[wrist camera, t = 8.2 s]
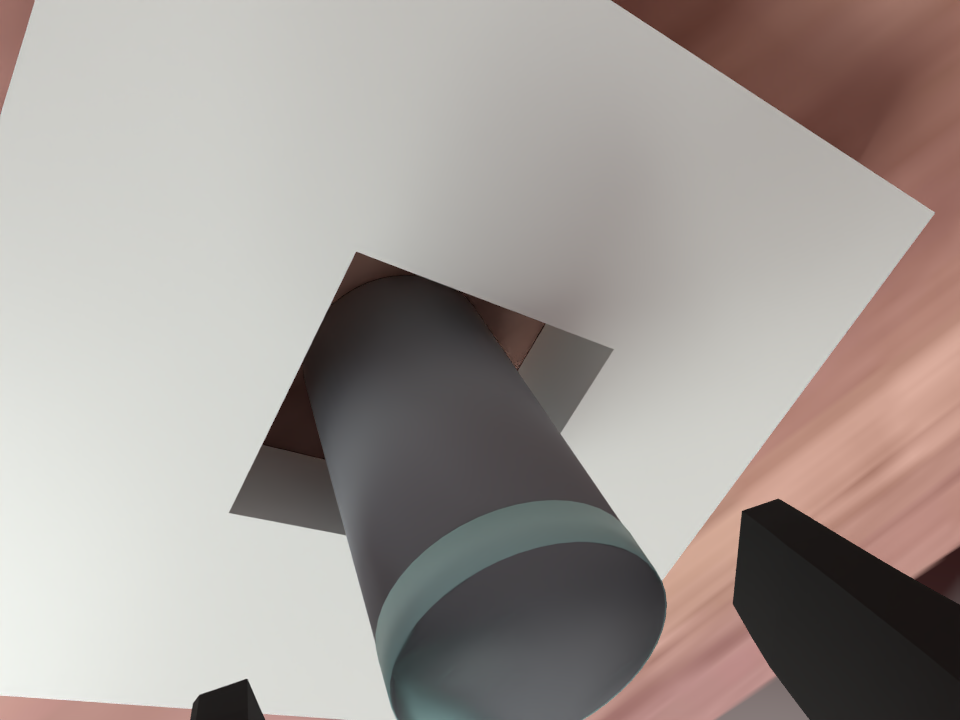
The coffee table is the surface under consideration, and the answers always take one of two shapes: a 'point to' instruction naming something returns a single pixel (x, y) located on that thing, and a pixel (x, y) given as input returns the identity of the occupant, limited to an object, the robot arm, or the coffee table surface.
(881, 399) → the coffee table surface
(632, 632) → the peg
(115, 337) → the socket block
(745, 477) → the coffee table surface
